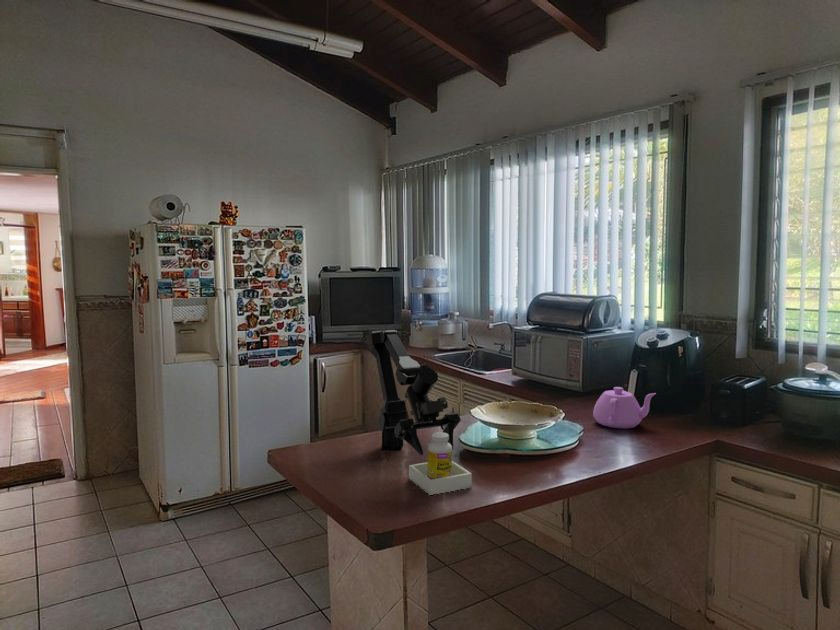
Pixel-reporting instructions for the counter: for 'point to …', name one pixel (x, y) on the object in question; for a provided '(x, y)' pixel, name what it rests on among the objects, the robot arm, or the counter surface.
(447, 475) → the supplement bottle
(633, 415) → the teapot
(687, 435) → the counter surface
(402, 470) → the counter surface
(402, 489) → the counter surface
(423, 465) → the tote
